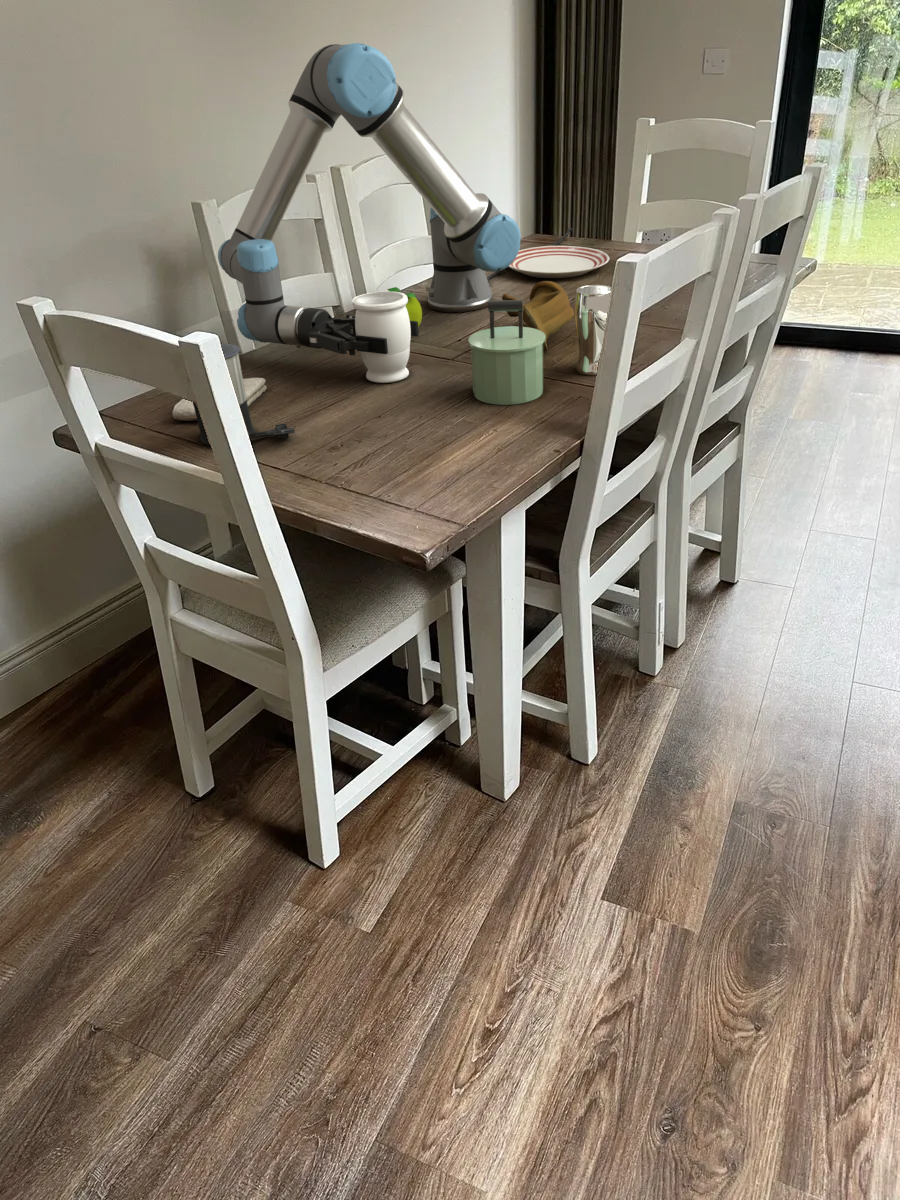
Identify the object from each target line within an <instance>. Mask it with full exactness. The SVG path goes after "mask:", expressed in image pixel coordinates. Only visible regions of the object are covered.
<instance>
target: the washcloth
mask: <svg viewBox="0 0 900 1200" xmlns="http://www.w3.org/2000/svg"><path fill="white" fill-rule="evenodd" d="M243 382H244V388H245V393H246V398H247V404H248V407H249V406H250V405H251V404H252V403H254V402H255V401H256V400H257V399H258V398H259V397H261V395H262V394H263V393H265V392H266V390H267V388H268V387H267V385H265V383H266V379H265V378H264V377H249V378H243ZM181 416H182V417H183V416H184V417H185V416H186V417H193V416H196V413H195V409H194V406H193V402H191V401H188V400H185V399H183V398H182V399H181V400H179V402H177V403H176V404H175V405H174V407H173V410H172V418H173V417H181ZM173 419H174V420H177V421H188V422H191V421H192V422H193V421H197V418H173Z"/></svg>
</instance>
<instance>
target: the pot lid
mask: <svg viewBox="0 0 900 1200" xmlns="http://www.w3.org/2000/svg"><path fill="white" fill-rule="evenodd" d="M524 304H525V303H524V300H523V299H517V300H506V301H503V300H492V301H488V306H487V311H488V312H489V328H486V329H482V330H478V331H476V332H474V333H472V334H471V335H470V336H469V337H468V338H467V339H468V340H467V341H468V345H469V346H470V348H471V347H473V348H475V349H477V350H481V351H486V352H497V353H505V352H518V351H524V350H528V349H532V348H535V347H537V346H539V345H541V344H543V343H544V342H545V340H546V336H545V334H544V333H543V332H542V331H540V330H537V329H534V328H529V327H528V326H524V320H523V310H524ZM506 311H518V316H517V318H518V321H517V322H518V326H517V325H515V326H514V325H507V326H505V325H504V326H496V327H495V313H497V312H498V313H500V312H506Z"/></svg>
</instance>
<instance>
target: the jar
mask: <svg viewBox="0 0 900 1200" xmlns="http://www.w3.org/2000/svg"><path fill="white" fill-rule="evenodd" d="M404 293H405V292H401V291H400V292H392V291H388V290H387V291H386V290H384V291H383V290H382V291H373V292H367V293H364V294H359V295H357V296H355V297H354V298H353V299H352V300H351V301H352V307H353V308H354V309H355V314H354V315H355V330H356V336H357V335H359V336H368V337H377V338H386V339H387V347H388V353H387V354H379V353H371V352H362V351H359V353H360V356H361V359H362V363H363V364H364V367H365V368H366V369H367V371H366V373H365V378H366V379H367V380H368V381H369V382H373V383H379V384H389V383H396V382H400V381H402V380H405V379H406V378H408V376H409V375H410V371H409V369H408V368H407V365H408V362H409V359H410V354H411V353H410V352H411V346H410V345H411V340H412V338H411V337H412V336H411V328H410V320H409V315H408V311H407V309H406V304H407V302H408V298H407V295H406V294H407V293H405V294H404Z"/></svg>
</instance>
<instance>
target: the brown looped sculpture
mask: <svg viewBox="0 0 900 1200" xmlns="http://www.w3.org/2000/svg"><path fill="white" fill-rule="evenodd" d="M501 299H502V300H501V301H506V300H518V299H517V298H515V297H514V296H511V295H510V294H507V293H503V294H502V296H501ZM505 312H506V313H507V315H508V316H509V317H511V318H518V311H505ZM574 317H575V309H574V308H573V307H572V306H571V303H570V299H569V296H568V294H567V292H566V291H565V289H564V288H563V287H562V285H559V283H557V282H554V281H551V280H543V281H542V280H541V281H539V282H537V283H535V284H534V285H533V286H532V289H531V290H530V293H529V301H527V302H526V303H524V310H523V322H524V323H525V324H526V327H529V328H534V329H537V330H540V331H542V332H543V333H544V334H545V336H546V340H545V342H544V343H543V354H546V352H547V351H548V344H547V340H548V339H549V338H550V336H552V335H553V334H555V333H557V332H558V331H559V330H561V328H564V327H565V326H566V325H568V324H569V323H570V322H571V321H572V320H573V319H574Z"/></svg>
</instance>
